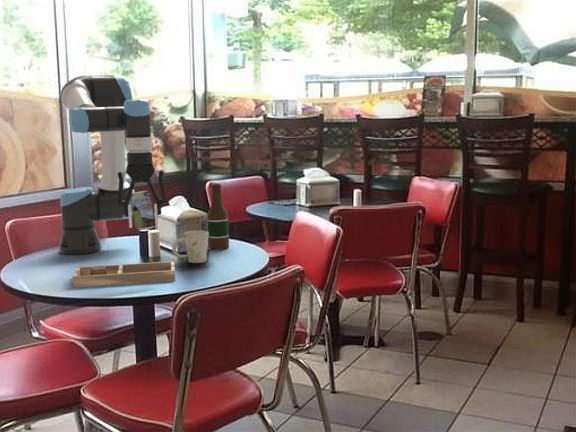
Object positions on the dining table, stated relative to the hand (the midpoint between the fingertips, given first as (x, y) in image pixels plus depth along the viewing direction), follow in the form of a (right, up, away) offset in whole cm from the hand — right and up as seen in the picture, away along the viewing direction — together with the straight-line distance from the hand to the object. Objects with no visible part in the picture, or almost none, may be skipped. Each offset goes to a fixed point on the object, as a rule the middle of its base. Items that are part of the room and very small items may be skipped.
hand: (143, 226), depth 217 cm
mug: (+11, -13, +26) cm, 31 cm away
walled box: (-6, -17, +2) cm, 18 cm away
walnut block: (-14, -17, 0) cm, 22 cm away
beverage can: (0, -1, 0) cm, 1 cm away
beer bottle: (+18, -9, +47) cm, 52 cm away
